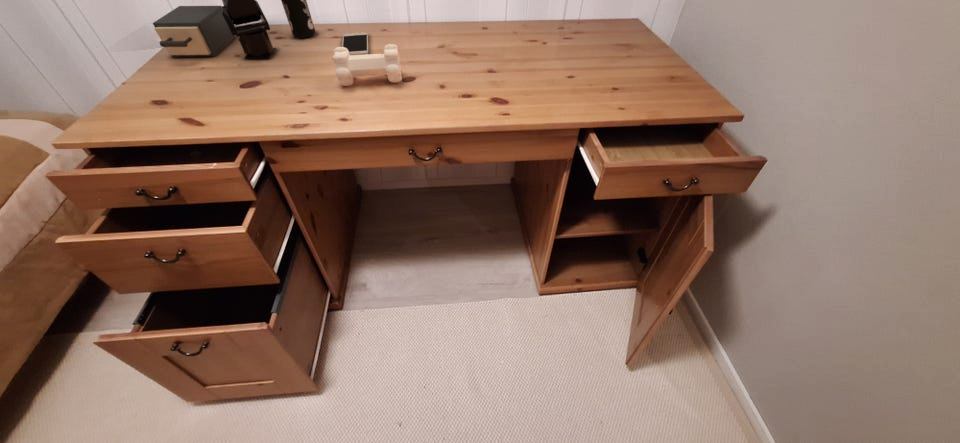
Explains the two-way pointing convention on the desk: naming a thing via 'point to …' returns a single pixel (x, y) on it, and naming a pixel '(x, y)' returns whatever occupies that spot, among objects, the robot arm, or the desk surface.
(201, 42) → the drawer
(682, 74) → the desk surface
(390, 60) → the bone shaped toy
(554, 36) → the desk surface
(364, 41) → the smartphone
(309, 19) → the beverage can
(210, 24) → the cabinet
